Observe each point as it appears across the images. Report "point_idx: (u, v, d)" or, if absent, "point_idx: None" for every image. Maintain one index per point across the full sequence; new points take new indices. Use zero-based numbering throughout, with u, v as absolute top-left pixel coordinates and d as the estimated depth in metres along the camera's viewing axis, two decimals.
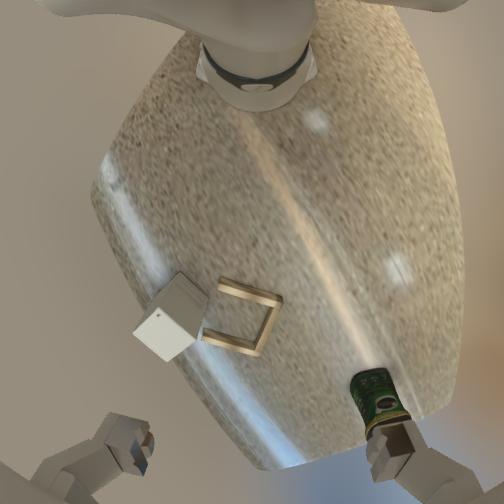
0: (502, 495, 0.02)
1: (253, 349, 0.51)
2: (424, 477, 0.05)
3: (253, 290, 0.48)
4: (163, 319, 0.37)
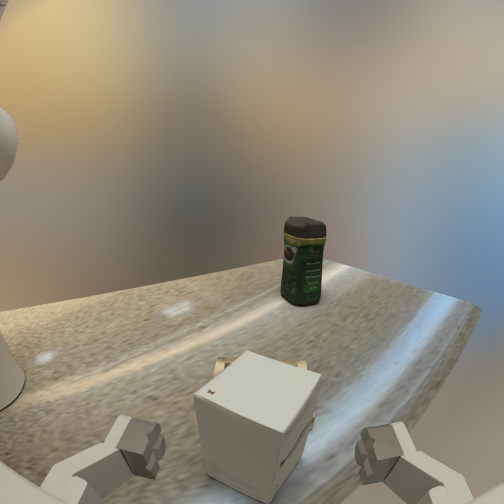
0: (502, 495, 0.02)
1: None
2: (412, 481, 0.05)
3: None
4: (218, 385, 0.19)
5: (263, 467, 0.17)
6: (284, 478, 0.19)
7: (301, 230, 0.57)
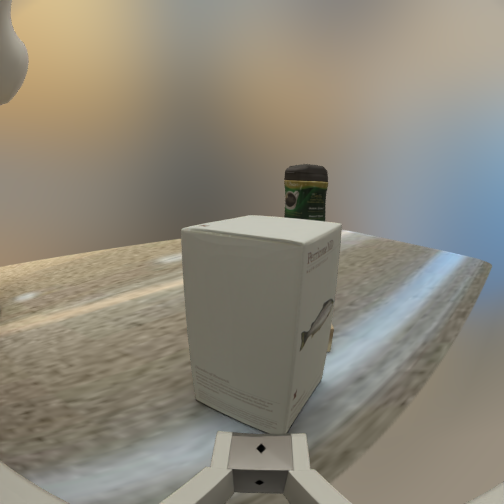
0: (502, 495, 0.02)
1: None
2: (303, 500, 0.06)
3: None
4: (214, 223, 0.16)
5: (276, 343, 0.14)
6: (304, 393, 0.16)
7: (302, 173, 0.54)
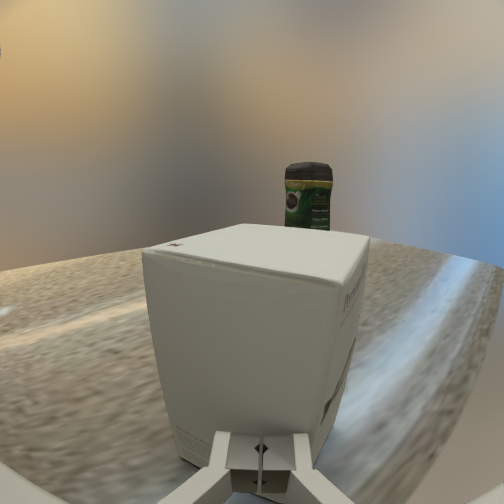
0: (502, 495, 0.02)
1: None
2: (305, 500, 0.06)
3: None
4: (191, 240, 0.11)
5: (287, 420, 0.08)
6: (317, 455, 0.11)
7: (304, 171, 0.48)
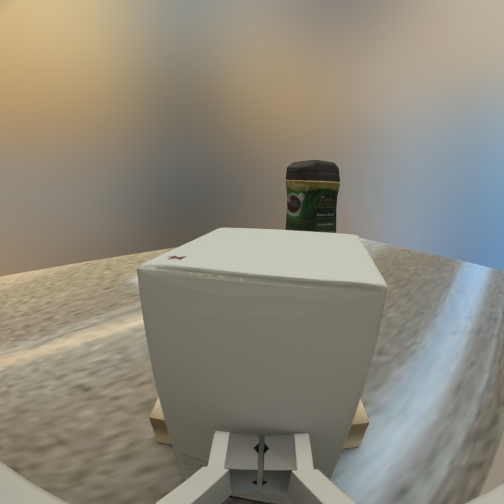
0: (502, 495, 0.02)
1: None
2: (307, 500, 0.06)
3: None
4: (189, 250, 0.09)
5: (322, 427, 0.08)
6: None
7: (308, 171, 0.43)
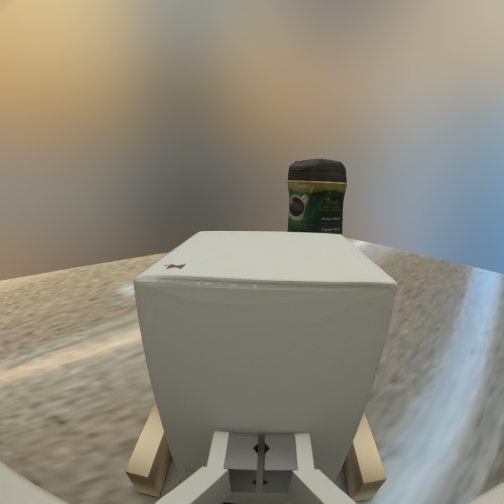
0: (502, 495, 0.02)
1: None
2: (307, 500, 0.06)
3: None
4: (184, 257, 0.09)
5: (334, 425, 0.08)
6: None
7: (313, 170, 0.39)
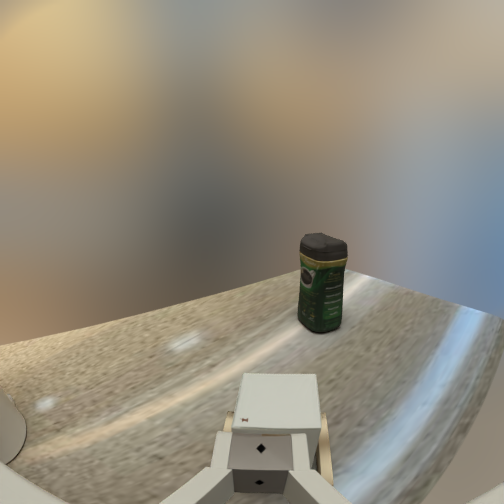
0: (502, 495, 0.02)
1: None
2: (303, 500, 0.06)
3: None
4: (246, 411, 0.21)
5: None
6: None
7: (319, 252, 0.49)
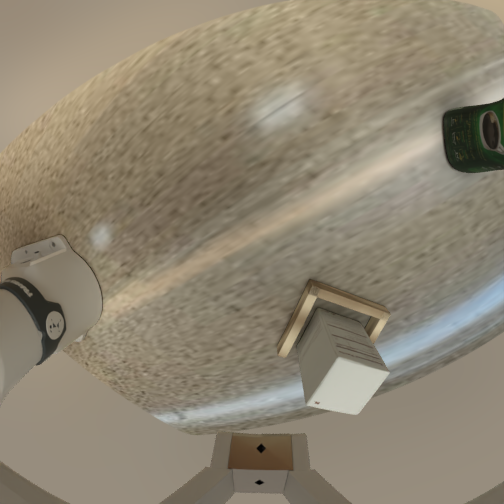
0: (502, 495, 0.02)
1: (378, 319, 0.36)
2: (303, 500, 0.06)
3: (294, 316, 0.37)
4: (321, 397, 0.27)
5: None
6: None
7: None
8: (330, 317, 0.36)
